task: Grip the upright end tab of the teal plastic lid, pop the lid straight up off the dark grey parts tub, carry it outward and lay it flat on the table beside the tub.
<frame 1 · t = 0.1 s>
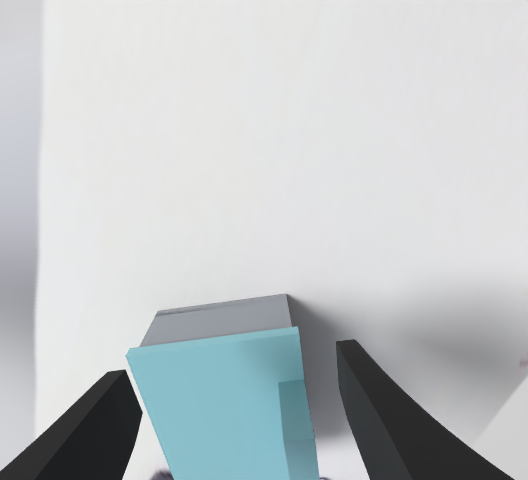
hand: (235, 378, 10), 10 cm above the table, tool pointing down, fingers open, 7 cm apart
parts tub: (236, 368, 23), on the table
lid: (233, 402, 20), point 3 cm above the table, touching parts tub
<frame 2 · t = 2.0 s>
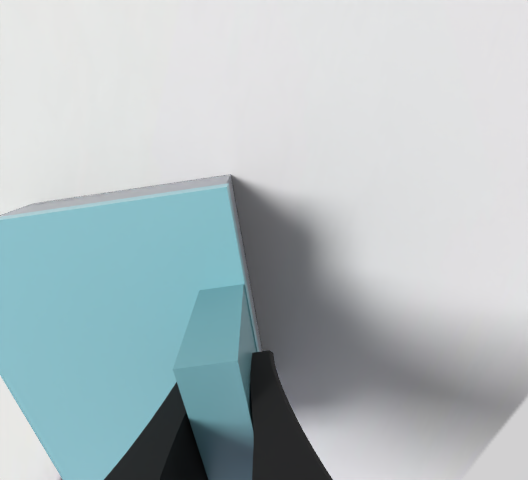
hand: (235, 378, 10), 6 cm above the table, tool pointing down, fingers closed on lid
parts tub: (165, 302, 16), on the table
lid: (146, 342, 13), point 3 cm above the table, touching gripper, parts tub
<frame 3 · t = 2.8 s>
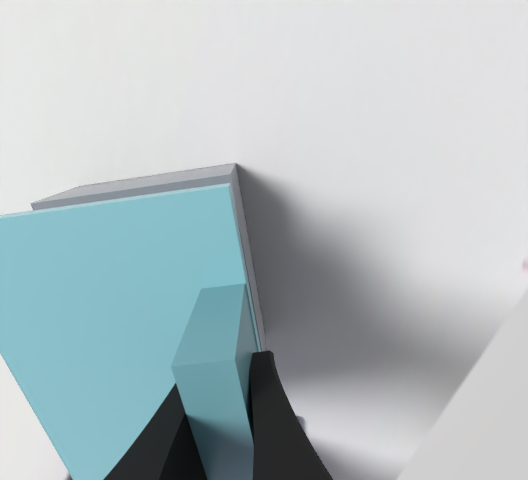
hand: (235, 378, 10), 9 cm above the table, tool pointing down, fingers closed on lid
parts tub: (182, 268, 19), on the table
lid: (149, 338, 13), point 7 cm above the table, touching gripper
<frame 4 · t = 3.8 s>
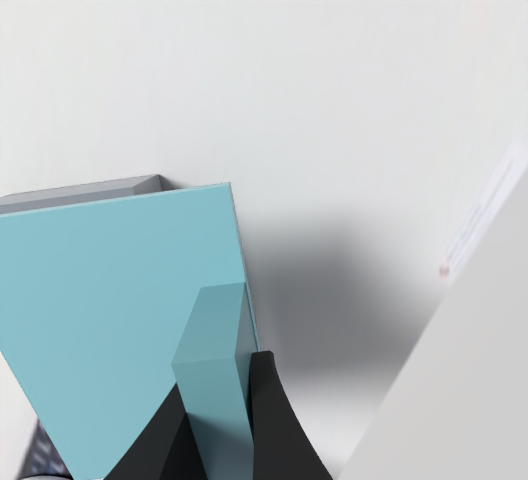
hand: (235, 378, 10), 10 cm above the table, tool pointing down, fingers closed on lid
parts tub: (115, 272, 20), on the table
lid: (149, 337, 13), point 8 cm above the table, touching gripper
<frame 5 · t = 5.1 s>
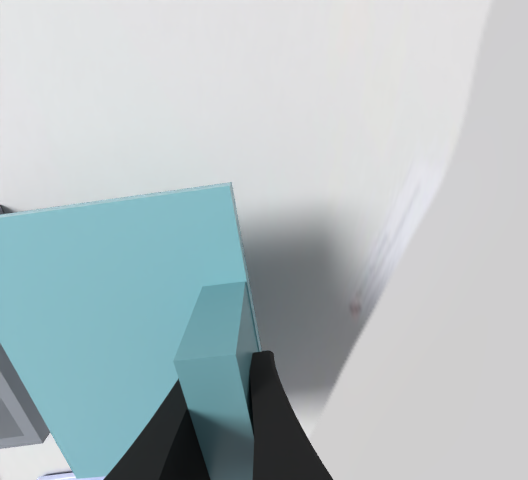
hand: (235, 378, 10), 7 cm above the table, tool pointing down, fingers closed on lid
lid: (151, 336, 13), point 4 cm above the table, touching gripper
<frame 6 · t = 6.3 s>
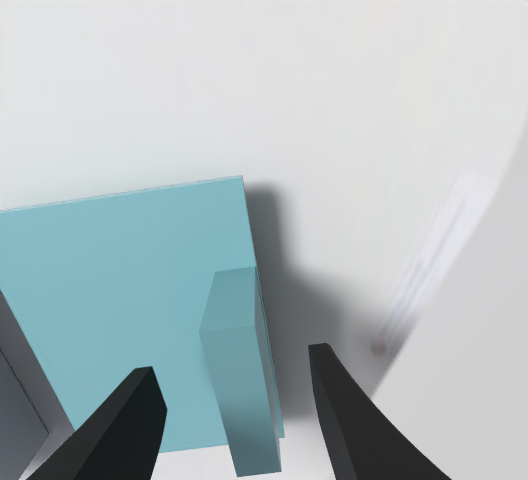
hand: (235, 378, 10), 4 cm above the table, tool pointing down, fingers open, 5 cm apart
lid: (162, 323, 14), on the table
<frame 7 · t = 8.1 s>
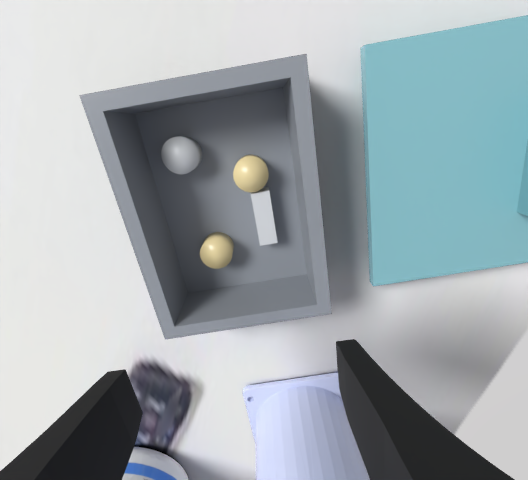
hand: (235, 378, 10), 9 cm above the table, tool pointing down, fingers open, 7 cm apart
parts tub: (230, 199, 18), on the table
lid: (443, 163, 17), on the table
supplement tub: (138, 475, 26), on the table
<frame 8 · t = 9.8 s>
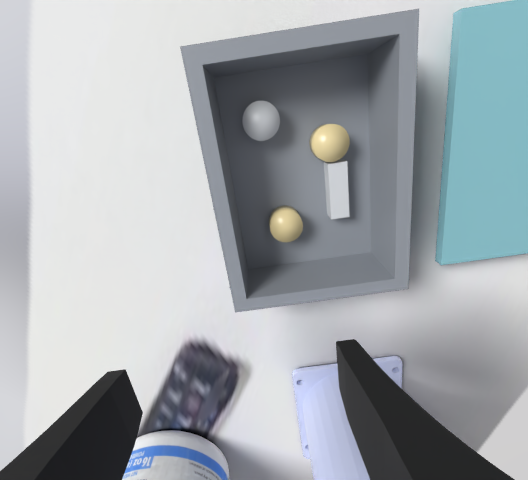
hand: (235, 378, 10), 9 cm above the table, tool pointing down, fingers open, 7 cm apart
parts tub: (299, 172, 17), on the table
lid: (518, 140, 17), on the table
supplement tub: (175, 461, 26), on the table
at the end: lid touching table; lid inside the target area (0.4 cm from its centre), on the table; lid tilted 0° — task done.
